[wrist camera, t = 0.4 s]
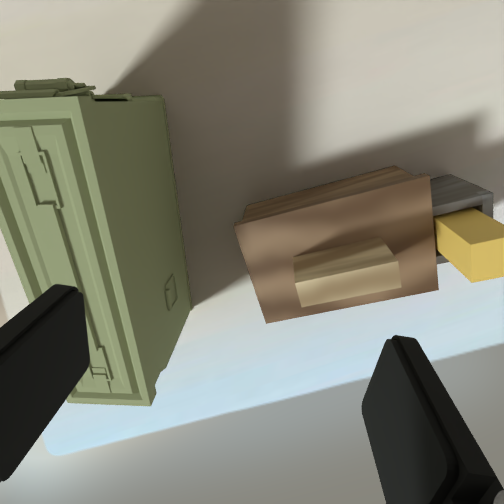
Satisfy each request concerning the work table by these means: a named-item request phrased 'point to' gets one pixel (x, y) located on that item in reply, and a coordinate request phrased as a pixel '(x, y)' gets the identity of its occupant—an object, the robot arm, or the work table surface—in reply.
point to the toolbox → (440, 189)
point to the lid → (348, 248)
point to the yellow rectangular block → (471, 243)
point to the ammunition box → (98, 224)
